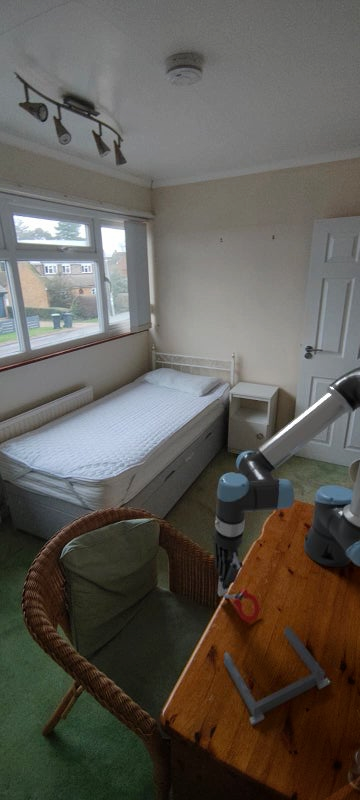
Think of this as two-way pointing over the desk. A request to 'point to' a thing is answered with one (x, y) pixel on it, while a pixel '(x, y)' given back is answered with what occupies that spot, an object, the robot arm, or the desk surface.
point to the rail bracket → (285, 693)
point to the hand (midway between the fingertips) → (222, 593)
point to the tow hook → (239, 604)
